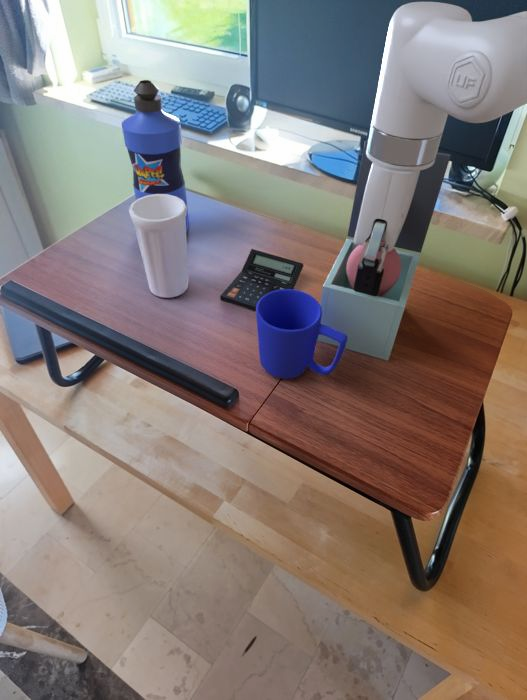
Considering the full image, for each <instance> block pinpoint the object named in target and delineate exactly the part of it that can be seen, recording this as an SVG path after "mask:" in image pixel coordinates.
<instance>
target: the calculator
mask: <svg viewBox="0 0 527 700" xmlns="http://www.w3.org/2000/svg"><path fill="white" fill-rule="evenodd" d="M303 268H304V263H303V262H299V261H297V260H293V259H289V258H286V257H281V256H278V255H275V254H272V253H268V252H264V251H261V250H257V249H253V248H251V249H250V251H249V254H248V256H247V258H246V260H245V262H244V265H243V267H242V269H241V271H240V272H239V274H237V276H236V277H235V278H234V279H233V280H232V281H231V283H230V284H229V285H228V286H227V287H226V288H225V290H224V291H223V292H222V293H221V294H220V296H219V297H220V298H219V299H220V301H223V302H225V303H229V304H231V305H233V306H238V307H241V308H244V309H247V310H250V311H253V312H256V306H257V304H258V302H259V300H260V299H261V298H262V297H263V296H264V295H266V294H268V293H270V292H272V291H276V290H281V289H292V290H295V287H296V284H297V282H298V280H299V277H300V275H301V273H302V270H303Z"/></svg>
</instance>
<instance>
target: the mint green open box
mask: <svg viewBox="0 0 527 700" xmlns="http://www.w3.org/2000/svg"><path fill="white" fill-rule="evenodd" d="M357 246H359V245H355V243H354V238H350V237H347V238H346V240H345V242H344V244H343V246H342V248H341V249H340V252H339V254H338V256H337V258H336V259H335V262H334V263H333V265H332V268H331V270H330V271H329V273H328V275H327V277H326V279H325V281H324V283H323V285H322V290H321V295H320V303H319V304H320V306H321V309H322V317H321V324H322V325H326V326H329V327H331V328H333V329H336V330H338V331H340V332H342V333H344V334H346V335H347V337H348V338H347V342H346V346H345V349H346V350H347V351H353V352H356V353H358V354H363V355H366V356H370V357H373V358H377V359H381V360H383V361H389V360H390V357H391V354H392V351H393V347H394V344H395V341H396V337H397V335H398V331H399V328H400V324H401V321H402V318H403V315H404V311H405V310H406V305H407V301H408V298H409V295H410V291H411V288H412V285H413V281H414V278H415V274H416V271H417V267H418V263H419V260H420V258H421V257H420V256H421V254H418V253H416V252H411V251H407V250H406V251H405V250H401V249H397V248H394V249H395V250H396V251H397V253H398V255H399V257H400V260H401V273H400V276H399V278H398V280H397V282H396V283H395V284H394V285H393V287H392V288H391V289H390V290H389V291H388V292H387V293H385V294H384V295H383V296H382V297H380V296H371V295H368V294H364V293H360V292H356V291H354V290H353V289H352V287H351V285H350V282H349V279H348V276H347V270H346V268H347V261H348V258H349V256H350V254H351V253H352V251H353V250H354V249H355V248H356V247H357ZM317 342H321V343H324V344H327V345H328V344H329V345H332V346H335V347H337V348H338V347H339V342H338V341H336V340H334V339H332V338H330V337H327V336H325V335H319V336H318V339H317ZM345 349H344V350H345Z"/></svg>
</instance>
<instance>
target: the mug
mask: <svg viewBox="0 0 527 700" xmlns="http://www.w3.org/2000/svg"><path fill="white" fill-rule="evenodd" d="M255 315H256V317H255V318H256V328H257V342H258V343H257V344H258V355H259V361H260V364H261V366H262V368H263V369H264V371H265V372H266V373H267V374H269V375H270V376H272V377H273V378H274V377H275V378H277V379H282V380H291V379H294V378H297V377H300V376H301V375H302V374H303V373H304V372H306V371H307V369H308V368H309V369H310V370H311V371H313V372H314V373H316V374H318V375H321V376H327V375H329V374H332V372H334V371H335V369H336V368H337V367H338V365H339V363H340V361H341V359H342V357H343V354H344V352H345V346H346V342H347V338H348V337H347V335H346V334H344V333H342V332H340V331H338V330H336V329H333V328H331V327H329V326H326V325H322V324H321V317H322V309H321V306H320V303H319V301H318V300H317V299H316V298H315V297H314V296H312V295H311V294H309V293H307V292H305V291H301V290H299V289H298V290H297V289H293V290H292V289H281V290H276V291H272V292H270V293H268V294H266V295H264V296H263V297H262V298H261V299H260V300H259V302H258V304H257V306H256V311H255ZM319 335H325V336H327V337H330V338H332V339H334V340H336V341H338V342H339V347H338V346H337V351H336V354H335V357H334V359H333V362H332V363H331V364H330V365H329V366H322V365H320V364H318V363H317V362H315V358H314V357H315V356H314V355H315V351H316V346H317V342H318V341H317V339H318V336H319Z"/></svg>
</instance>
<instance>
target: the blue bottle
mask: <svg viewBox="0 0 527 700" xmlns="http://www.w3.org/2000/svg"><path fill="white" fill-rule="evenodd" d="M133 92H134V94H136V95H135V96H134V97H133V101H134V102H133V103H134V108H135V110H136V111H135V113H134V114H132V115H130V116H128V117H126V118H124V120H122V122H121V129H122V136H123V140H124V146H125V147H126V150H127V154H128V157H129V160H130V163H131V164H130V165H131V167H132V182H133V183H132V185H133V192H134V197H135V201H136V200H137V199H139V198H142V197H144V196H147V195H154V194H168V195H172V196H176V197H178V198H180V199H181V200H183V201H184V203H185V205H186V206H187V207H188V201H187V190H186V181H185V177H184V174H183V170H182V143H183V139H182V127H181V126H182V125H181V121H180V119H179V118H178V117H176V116H174V115H172V114H169V113H166V112H165V111H164V110H162V109H163V99H162V96H161V95H160V94H158V93H159V92H160V88H159V87H158V86H157V85H156V84H155V83H154V82H153V81H151V80H149V79H142V80H140V81H138V83H137V85H136V86H135V87H134V89H133ZM188 211H189V210H188V208H187V212H186V218H185V219H186V233H187V232H189V231H188V230H189V229H190V222H189V221H190V220H189V213H188Z"/></svg>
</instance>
